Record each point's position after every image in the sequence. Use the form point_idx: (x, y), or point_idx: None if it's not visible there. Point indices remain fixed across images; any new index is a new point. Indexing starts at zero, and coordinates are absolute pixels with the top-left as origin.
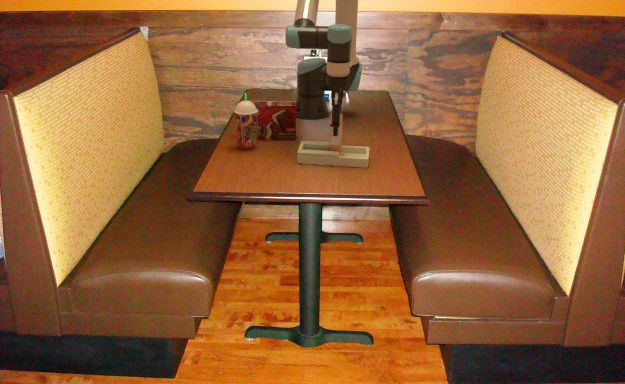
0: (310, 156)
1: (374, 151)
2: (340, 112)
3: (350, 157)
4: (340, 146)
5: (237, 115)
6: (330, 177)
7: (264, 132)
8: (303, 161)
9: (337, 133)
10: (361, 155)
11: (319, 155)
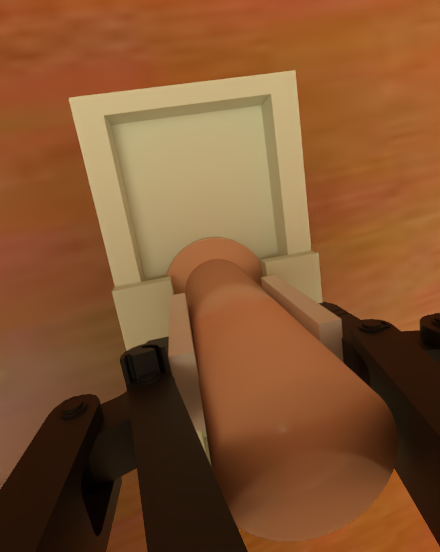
0: None
1: (4, 87)
2: (200, 441)
3: (293, 186)
4: (235, 269)
5: None
6: (422, 244)
7: None
8: None
9: (336, 309)
10: (150, 148)
11: None
